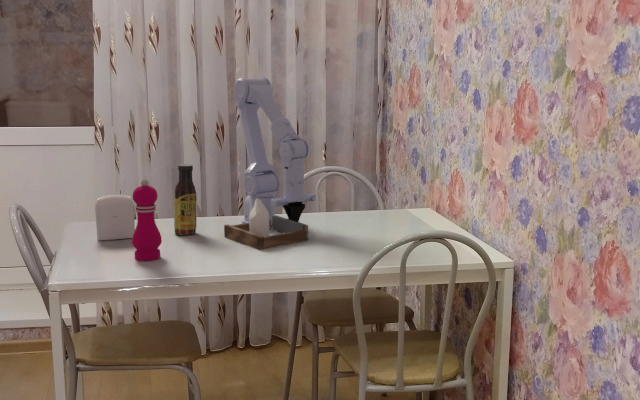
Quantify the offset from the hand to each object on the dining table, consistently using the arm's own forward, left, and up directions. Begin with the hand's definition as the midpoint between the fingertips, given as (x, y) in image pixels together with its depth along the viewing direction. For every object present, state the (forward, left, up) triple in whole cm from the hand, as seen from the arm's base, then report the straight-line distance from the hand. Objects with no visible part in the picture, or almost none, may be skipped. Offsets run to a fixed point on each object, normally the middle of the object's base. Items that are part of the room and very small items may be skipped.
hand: (293, 228), depth 203 cm
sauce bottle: (-19, -24, -2) cm, 31 cm away
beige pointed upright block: (+1, -13, -2) cm, 13 cm away
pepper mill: (-3, -44, -2) cm, 45 cm away
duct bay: (0, -10, -2) cm, 11 cm away
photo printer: (-26, -42, -2) cm, 50 cm away
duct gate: (0, -2, -1) cm, 2 cm away
